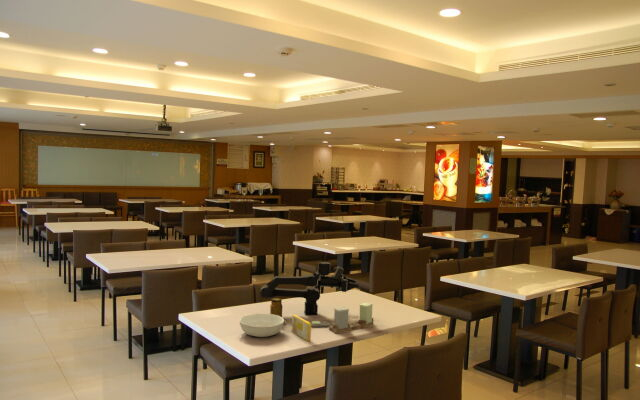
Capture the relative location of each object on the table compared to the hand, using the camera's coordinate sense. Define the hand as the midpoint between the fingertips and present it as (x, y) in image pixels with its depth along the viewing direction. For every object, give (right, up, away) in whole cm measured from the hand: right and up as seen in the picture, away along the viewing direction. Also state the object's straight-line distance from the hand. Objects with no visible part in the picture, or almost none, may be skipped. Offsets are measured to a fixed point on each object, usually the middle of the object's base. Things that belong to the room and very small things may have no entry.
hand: (357, 283), depth 267 cm
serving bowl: (-48, -18, -37) cm, 63 cm away
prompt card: (-21, -17, -22) cm, 35 cm away
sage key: (+3, -16, -22) cm, 27 cm away
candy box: (-29, -18, -39) cm, 52 cm away
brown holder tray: (-5, -18, -25) cm, 31 cm away
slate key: (-10, -16, -31) cm, 36 cm away
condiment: (-42, -17, -19) cm, 49 cm away
